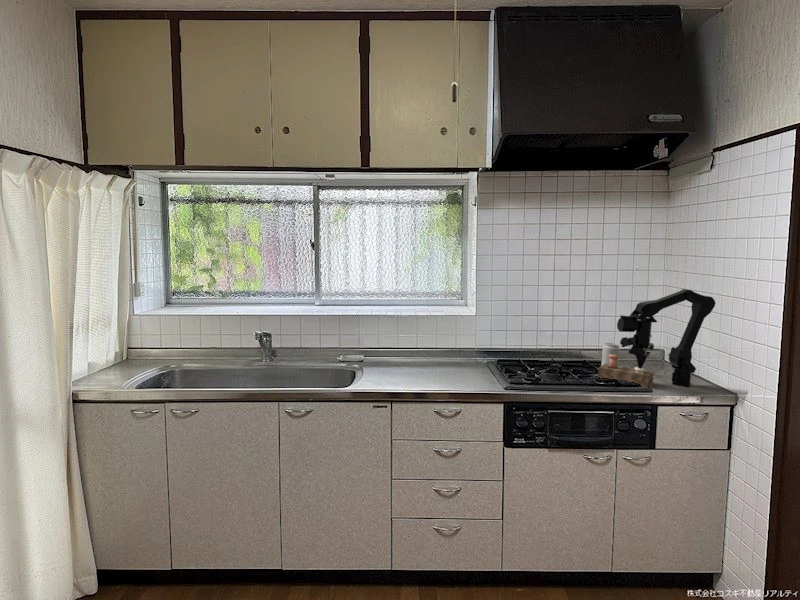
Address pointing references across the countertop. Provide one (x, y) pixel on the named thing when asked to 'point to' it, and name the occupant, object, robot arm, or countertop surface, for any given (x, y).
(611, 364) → the brick plug
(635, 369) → the cream plug
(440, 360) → the countertop surface
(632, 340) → the robot arm
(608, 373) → the socket board
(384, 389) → the countertop surface
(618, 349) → the can
